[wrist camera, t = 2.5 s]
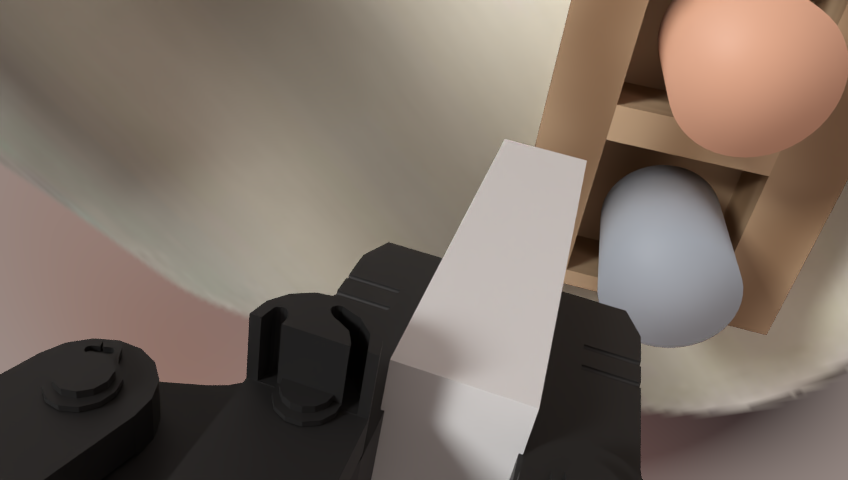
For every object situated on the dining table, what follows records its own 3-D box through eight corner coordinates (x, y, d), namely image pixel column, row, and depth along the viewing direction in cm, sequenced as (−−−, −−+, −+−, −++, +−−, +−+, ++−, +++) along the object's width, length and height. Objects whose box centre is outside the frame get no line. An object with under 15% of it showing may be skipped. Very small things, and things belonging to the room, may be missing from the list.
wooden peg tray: (515, 228, 36) (504, 268, 32) (666, -377, 23) (674, -416, 20) (751, 286, 34) (766, 334, 31) (1050, -329, 21) (1131, -363, 18)
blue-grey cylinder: (587, 251, 32) (582, 327, 26) (619, 153, 29) (619, 217, 24) (697, 278, 31) (713, 362, 26) (739, 180, 28) (766, 252, 23)
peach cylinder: (640, 85, 27) (646, 137, 22) (683, -47, 25) (700, -21, 20) (768, 112, 27) (804, 173, 22) (826, -21, 24) (881, 13, 19)
